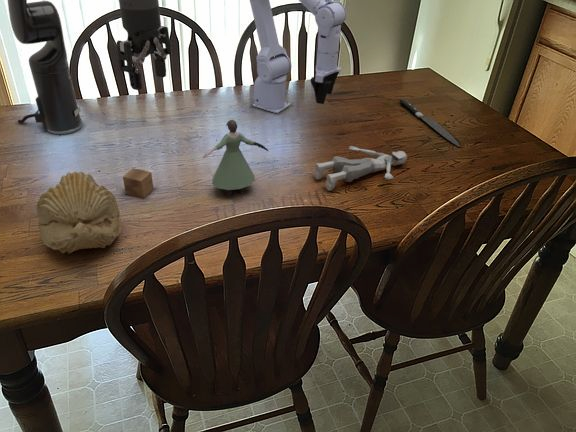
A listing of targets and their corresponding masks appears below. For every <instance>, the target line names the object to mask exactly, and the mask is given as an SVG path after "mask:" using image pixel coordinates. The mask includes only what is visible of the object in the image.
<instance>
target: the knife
mask: <svg viewBox="0 0 576 432" xmlns="http://www.w3.org/2000/svg"><path fill="white" fill-rule="evenodd" d="M398 101H399V103H400V104H402V105H403V106H404V107H405V108H406V109H407V110H409V111H410V112H411V113H412V114H413V115H414V116H416V118H418V119H421V120H422V121H423V122H425V123H426V124H427V125H428V126H429V127H430V128H432V129H433V130H434V131H435V132H436V133H438V134H439V135H441V136H442V137H443V138H445V139H446V140H447V141H449V143H451V144H453V145H455V146H457V147H461V145H460V143H459V142H458V141H457V140H456V138H455V137H454V136H453V135H452V134H450V132H448V130H446V129H445V128H444V127H443V126H441V125H440V124H439V123H438V122H437V121H436V120H435V119H433V118H432V117H430V116H429V117H428V116H425V115H424V114H423V113H422V112H421V111H420V110H419V109H418V108H417V107H415V106H414V105H413V104H412V103H411V101H410V100H408V99H404V98H399V99H398Z"/></svg>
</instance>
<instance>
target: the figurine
mask: <svg viewBox="0 0 576 432" xmlns="http://www.w3.org/2000/svg"><path fill="white" fill-rule="evenodd" d="M348 149H349V151H354V152H361V153H363V154H366V155H367V156H368V155H369V156H374V157H377V158H373V157H364V158H354V159H349V158H346V157H343V156H337V155H335V156H333V158H332V160H330V161H325V162H321V163H315V164H314V170H313V173H314V174H313V176H314V178H315V179H316V180H321V179H322V178H323V176H324V172H325V171H328V170H331V169H332V170H333V172H335V173H327V174H326V181H325V188H326V190H327V191H329V192H330V191H333V190H334V188H335V187H336V182H337V181H341V180H343V181H344V182H346V183H351V182H353V181H354V180H358V179H359V178H361V177H364V176H366V175H369V174H372V173H375V172H379V171H384V170H385V169H386V172H385V174H384V176H383V179H385V180H388V181H390V180H392V179H394V176H393V175H392V174H391V169H392V168H391V167H393V166H400V165H404V164H405V163H406V161H407V159H408V155H407V154H406V152H405V151H402V150H398V151H392V152H391V154H392V155H389V154H386V153H384V152H377V151H375V150H371V149H362V148H359V147H357V146H353V145H350V146H349V147H348Z"/></svg>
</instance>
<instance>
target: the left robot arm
mask: <svg viewBox="0 0 576 432" xmlns="http://www.w3.org/2000/svg"><path fill="white" fill-rule="evenodd" d="M118 6H119V11H120V17H121V24H122V28H123V29H124V31H126V33H127V39H126V40H117V41H116V49H117V56H118V57H117V58H118V66H119V71H121V72H124V73H127V74H128V77H129V83H130V88H131V89H133V90H135V91H141V90H142V89H143V84H142V76H141V72H140V71H141V67H142V64H144V62H145V61H146V58H147V57H149V56H150V55H152V56H153V57H154V58H155V59H153V60H154V69H155V74H156V76H157V77H158V78H165V77H167V66H166V64H167V63H166V60H167V56H168V55H169V56H170V55H171V54H172V48H171V40H170V35H169V34H170V33H169V27H168V26H165V25H162V21H161V13H160V2H159V0H118ZM7 7H8V14H9V21H10V25H11V29H12V32H13V34H14V36H15V38H16V39H17V41H18V42H19V43H20V44H23V45H34V44H39V43H45V44H44V45H43V47H41V48H40V49H39V50H38V51H36V52H34V53H33V54H31V56H29V59H28V65H29V68H30V72H31V76H32V80H33V83H34V86H35V91H36V94H37V96H36V97H35V104H36V106H37V110H36V112H34V113H31V114H27V115H24V116H23V117H22V118H21V119H18V120H17V123H19V124H22V123H25V122H26V120H27V119H30V118H34V121H35V123H36V124H41V125H42V128H43V131H44V132H48V133H49V134H53V135H67V134H72V133H74V132H77V131H79V130H80V129H81V128H82V126H83V121H82V119H81V118H82V117H81V115H80V113H81V111H82V110H81V106H80V105H78V101H77V97H76V92H75V88H74V84H73V83H74V82H73V80H72V76H71V75H72V74H71V70H70V67H69V62H68V54H67V49H66V44H65V38H64V31H63V27H62V26H63V25H62V21H61V17H60V14H59V12H58V9H57V7H56V6H55V4H54V3H53V2H51V1H49V0H40V1H33V2H28V1H27V0H7ZM164 46H165V47H164ZM134 63H135V64H134Z"/></svg>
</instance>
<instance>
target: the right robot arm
mask: <svg viewBox="0 0 576 432" xmlns="http://www.w3.org/2000/svg"><path fill="white" fill-rule="evenodd" d="M298 2H300V3H301V4H302V6H304V7H305V8H306V9H307V10H308V11H309V12H310V13H311V14H312V15H313V16H314V19H315V20H314V21H315V23H316V25H317V32H318V36H317V37H318V38H317V51H316V65H315V76H312V77H311V78H310V84H311V86H312V89H313V92H314V96H315V102H316V104H320V105H324V104H325V102H326V99H327V95H332V93H333V90H334V86H335V83H336V80H337V77H338V76H339V74H340V72H341V71H342V67H339V66H338V61H339V50H340V40H341V31H342V30H341V28H342V24H343V23H345V21H346V20H347V10H346V7H345V6H344V5H343V3H342V2H341V1H340V0H339V1H338V0H335V1H334V0H298ZM249 3H250V7H251V12H252V16H253V20H254V21H253V22H254V24H255V29H256V33H257V37H258V43H259V46H260V51H259V52H258V53H257V55H256V58H255V60H256V73H257V77H256V79H255V80H254V85H253V103H252V107H254V108H258V109H261V110H265V111H267V112H271V113H275V114H279V113H281V112H282V111H284V110H285V109H287V108H288V107H290V106H291V103H289V102H286V89H287V88H286V86H287V79H288V75H289V74H290V73H291V71H292V61H291V59H290V57H289V56H288V54H287V49H286V48H285V47H284V46H282V45H280V42H279V38H278V37H279V36H278V33H277V29H276V25H275V19H274V16H273V11H272V6H271V2H270V0H249Z"/></svg>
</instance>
